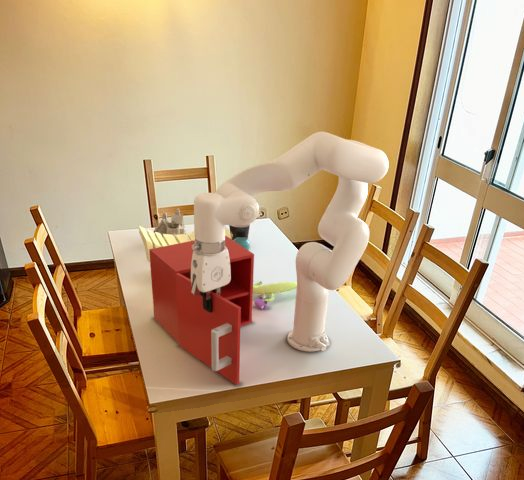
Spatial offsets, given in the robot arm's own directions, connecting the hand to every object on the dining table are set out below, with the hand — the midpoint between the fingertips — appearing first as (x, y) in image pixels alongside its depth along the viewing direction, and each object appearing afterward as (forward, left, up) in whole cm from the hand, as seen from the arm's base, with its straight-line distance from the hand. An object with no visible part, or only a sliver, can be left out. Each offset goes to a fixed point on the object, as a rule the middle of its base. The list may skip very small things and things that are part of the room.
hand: (210, 309), depth 147 cm
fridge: (+24, -11, -19) cm, 32 cm away
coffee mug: (+73, -55, -19) cm, 93 cm away
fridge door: (+1, +3, -18) cm, 19 cm away
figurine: (+23, -43, -19) cm, 52 cm away
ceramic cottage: (+86, -29, -19) cm, 93 cm away
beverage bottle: (+43, -37, -19) cm, 59 cm away
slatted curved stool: (+57, -22, -19) cm, 64 cm away
